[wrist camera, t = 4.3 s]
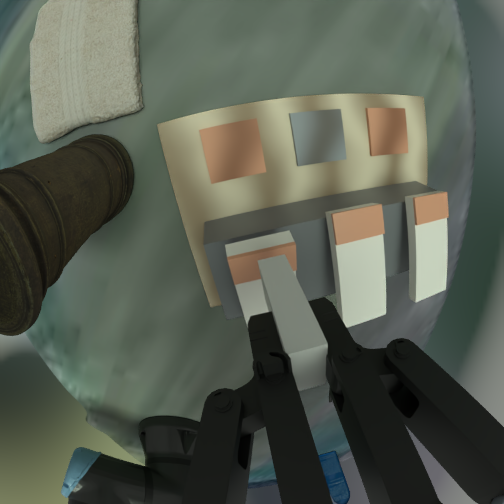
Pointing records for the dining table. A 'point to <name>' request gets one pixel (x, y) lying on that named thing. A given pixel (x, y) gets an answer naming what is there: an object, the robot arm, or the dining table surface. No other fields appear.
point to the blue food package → (335, 478)
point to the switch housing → (309, 237)
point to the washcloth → (83, 65)
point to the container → (54, 218)
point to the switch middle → (358, 261)
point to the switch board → (288, 156)
